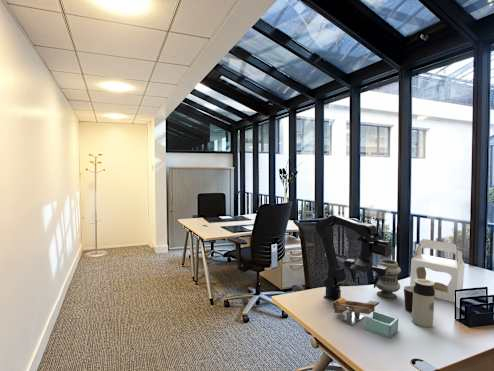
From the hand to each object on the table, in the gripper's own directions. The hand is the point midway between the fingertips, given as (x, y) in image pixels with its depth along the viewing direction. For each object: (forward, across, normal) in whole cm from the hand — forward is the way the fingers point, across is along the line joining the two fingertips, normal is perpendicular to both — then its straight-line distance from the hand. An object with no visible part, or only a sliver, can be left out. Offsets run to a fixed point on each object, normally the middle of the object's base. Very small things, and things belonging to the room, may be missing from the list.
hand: (364, 285), depth 148 cm
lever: (+9, +1, -8) cm, 12 cm away
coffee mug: (+12, +19, +17) cm, 28 cm away
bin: (+11, +12, -14) cm, 22 cm away
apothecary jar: (+12, +4, +26) cm, 29 cm away
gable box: (+12, +23, +48) cm, 54 cm away
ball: (+6, -5, -12) cm, 14 cm away
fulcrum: (+12, 0, -12) cm, 17 cm away
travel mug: (+11, +24, +4) cm, 27 cm away
